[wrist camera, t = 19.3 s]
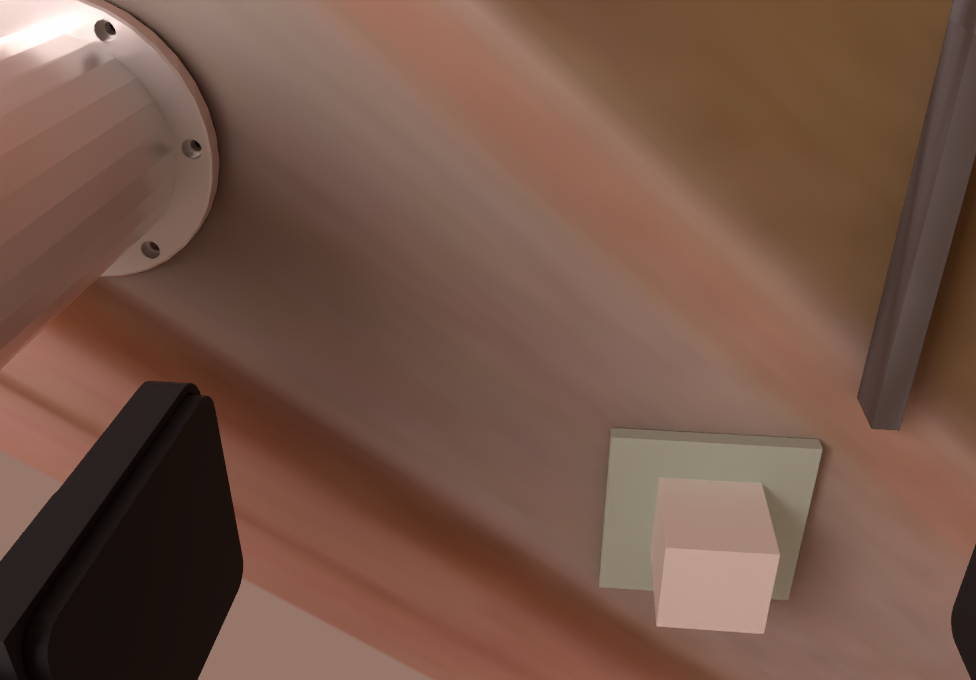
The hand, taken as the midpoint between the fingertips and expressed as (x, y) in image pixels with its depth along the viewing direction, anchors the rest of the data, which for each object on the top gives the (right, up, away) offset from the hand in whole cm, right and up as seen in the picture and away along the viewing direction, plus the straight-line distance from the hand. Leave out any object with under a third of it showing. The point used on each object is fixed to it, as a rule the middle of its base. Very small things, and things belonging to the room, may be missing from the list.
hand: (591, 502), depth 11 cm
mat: (+10, -7, +36) cm, 38 cm away
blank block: (+10, -7, +35) cm, 37 cm away
